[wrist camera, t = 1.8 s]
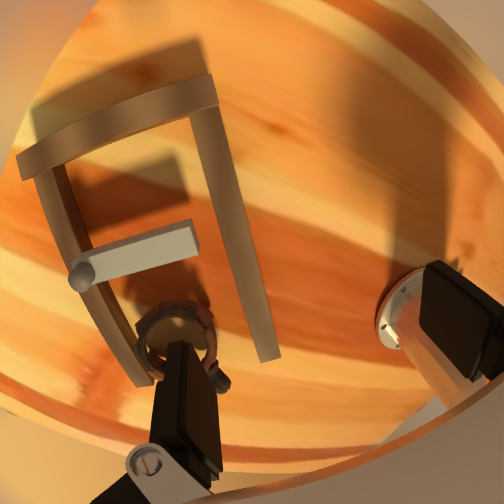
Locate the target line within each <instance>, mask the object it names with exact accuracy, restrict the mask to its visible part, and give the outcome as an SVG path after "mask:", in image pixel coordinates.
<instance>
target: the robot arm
mask: <svg viewBox="0 0 504 504" xmlns="http://www.w3.org/2000/svg"><path fill="white" fill-rule="evenodd" d="M375 327H376V333H377V336H378V338H379V339H380V341H381V342H382V343H383V344H384V345H385V346H386V347H388V348H391V349H402V350H403V351H404V353H405V354H406V355H407V356H408V358H409V359H410V360H411V362H412V363H413V364H414V365H415V367H416V368H417V369H418V371H419V372H420V373H421V375H422V376H423V377H424V379H425V380H426V381H427V383H428V384H429V385H430V387H431V388H432V389H433V391H434V392H435V394H436V395H437V396H438V397H439V399H440V400H441V402H442V403H443V405H444V406H445V407H446V409H447V410H448V411H447V412H445V413H444V414H442V415H440V416H439V417H437V418H435V419H434V420H432V421H430V422H428V423H426V424H425V425H423V426H421V427H419V428H417V429H415V430H413V431H411V432H410V433H408V434H406V435H404V436H402V437H400V438H398V439H395V440H393V441H391V442H389V443H387V444H385V445H382V446H380V447H378V448H376V449H373V450H371V451H369V452H366V453H364V454H361V455H359V456H356V457H354V458H351V459H348V460H346V461H343V462H340V463H337V464H334V465H332V466H329V467H325V468H322V469H319V470H316V471H313V472H309V473H306V474H302V475H299V476H295V477H291V478H288V479H284V480H280V481H276V482H271V483H267V484H262V485H258V486H253V487H248V488H242V489H238V490H233V491H227V492H222V493H217V494H214V493H212V492H211V491H210V490H209V489H210V488H211V481H215V480H219V472H223V463H222V452H221V441H220V429H219V416H218V401H217V394H216V390H215V388H214V386H213V384H212V382H211V380H210V379H209V377H208V375H207V373H206V371H205V369H204V367H203V365H202V363H201V361H200V359H199V357H198V355H197V353H196V351H195V349H194V347H193V345H192V343H190V342H189V343H186V341H185V340H180V341H176V342H171V343H169V345H168V350H167V357H166V364H165V371H164V379H163V380H162V381H158V382H157V385H156V390H155V397H154V405H153V412H152V421H151V429H150V438H149V443H145V444H141V445H139V446H137V447H135V448H134V449H133V450H132V451H131V452H130V453H129V455H128V456H127V459H126V463H125V465H126V470H127V473H126V474H125V475H124V476H122V477H121V478H120V479H119V480H118V481H116V482H115V483H114V484H113V485H111V486H110V487H109V488H108V489H107V490H105V491H104V492H103V493H101V494H100V495H99V496H98V497H96V498H95V499H94V500H93V501H92V502H91V503H90V504H504V307H503V306H502V305H501V304H500V303H498V302H497V301H496V300H495V299H493V298H492V297H491V296H489V295H488V294H487V293H485V292H484V291H483V290H482V289H480V288H479V287H477V286H476V285H475V284H473V283H472V282H471V281H469V280H468V279H467V278H465V277H464V276H462V275H461V274H460V273H458V272H457V271H455V270H454V269H452V268H451V267H450V266H448V265H447V264H445V263H444V262H442V261H441V260H436V261H433V262H431V263H428V264H427V265H426V267H423V268H419V269H417V270H414V271H412V272H411V273H409V274H407V275H406V276H404V277H403V278H402V279H401V280H399V281H398V282H397V283H396V285H395V286H394V287H393V288H392V289H391V290H390V291H389V293H388V294H387V295H386V297H385V299H384V300H383V302H382V304H381V306H380V309H379V311H378V314H377V318H376V326H375Z"/></svg>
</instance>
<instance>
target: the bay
mask: <svg viewBox="0 0 504 504" xmlns="http://www.w3.org/2000/svg"><path fill="white" fill-rule="evenodd" d="M218 105H219V101H218V97H217V94H216V90H215V86H214V82H213V78H212V74H208V75H204V76H200V77H196V78H192V79H188V80H185V81H181V82H178V83H175V84H171V85H168V86H165V87H162V88H159V89H156V90H153V91H150V92H147V93H144V94H141V95H138V96H136V97H133V98H130V99H128V100H125V101H123V102H120V103H118V104H115V105H113V106H110V107H108V108H106V109H103V110H101V111H99V112H96V113H94V114H92V115H90V116H88V117H85V118H83V119H81V120H79V121H77V122H75V123H73V124H71V125H69V126H67V127H65V128H63V129H61V130H59V131H57V132H56V133H54V134H52V135H50V136H48V137H46V138H45V139H43V140H41V141H39V142H38V143H36V144H34V145H33V146H31V147H29V148H28V149H26V150H24V151H23V152H21V153H19V154H18V155H16V160H17V164H18V168H19V171H20V175H21V179H22V181H24V180H27V179H30V178H33V179H34V182H35V185H36V189H37V192H38V195H39V198H40V201H41V204H42V207H43V210H44V213H45V215H46V218H47V221H48V224H49V226H50V229H51V232H52V234H53V237H54V239H55V242H56V244H57V246H58V249H59V251H60V254H61V256H62V258H63V260H64V263H65V265H66V267H67V269H68V271H69V274H70V272H71V271H72V270H73V267H72V265H71V263H72V262H73V260H74V259H75V258H76V257H77V256H78V255H79V254H80V253H83V252H86V251H89V250H91V249H93V247H92V244H91V242H90V239H89V237H88V234H87V232H86V229H85V226H84V224H83V221H82V218H81V215H80V213H79V210H78V207H77V204H76V201H75V198H74V195H73V192H72V189H71V186H70V183H69V180H68V176H67V173H66V170H65V166H64V164H66V163H68V162H70V161H72V160H74V159H76V158H78V157H80V156H83V155H85V154H87V153H89V152H92V151H94V150H96V149H99V148H101V147H103V146H106V145H108V144H111V143H113V142H116V141H118V140H121V139H123V138H126V137H129V136H131V135H134V134H137V133H140V132H142V131H145V130H148V129H151V128H154V127H157V126H160V125H163V124H166V123H169V122H172V121H176V120H179V119H182V118H186V117H190V121H191V125H192V129H193V133H194V137H195V140H196V144H197V148H198V152H199V155H200V159H201V163H202V167H203V170H204V174H205V178H206V181H207V185H208V188H209V192H210V196H211V199H212V203H213V206H214V210H215V213H216V217H217V221H218V224H219V228H220V231H221V235H222V238H223V241H224V245H225V248H226V252H227V255H228V259H229V262H230V265H231V269H232V272H233V276H234V279H235V282H236V286H237V289H238V292H239V296H240V299H241V302H242V305H243V309H244V312H245V315H246V318H247V322H248V325H249V328H250V331H251V335H252V338H253V341H254V344H255V347H256V351H257V354H258V357H259V360H260V363H263V362H267V361H271V360H274V359H278V358H281V354H280V350H279V346H278V342H277V338H276V334H275V330H274V326H273V322H272V318H271V314H270V310H269V305H268V301H267V297H266V293H265V289H264V285H263V281H262V277H261V273H260V269H259V265H258V261H257V257H256V253H255V249H254V245H253V241H252V237H251V233H250V229H249V225H248V221H247V217H246V213H245V209H244V205H243V201H242V197H241V193H240V189H239V185H238V181H237V178H236V174H235V170H234V166H233V162H232V158H231V154H230V150H229V146H228V142H227V138H226V134H225V130H224V126H223V122H222V118H221V114H220V110H219V106H218ZM79 294H80V296H81V298H82V300H83V302H84V304H85V306H86V307H87V309H88V311H89V313H90V315H91V317H92V318H93V320H94V322H95V324H96V326H97V327H98V329H99V331H100V332H101V334H102V336H103V337H104V339H105V341H106V342H107V344H108V346H109V347H110V349H111V351H112V352H113V354H114V355H115V357H116V358H117V360H118V361H119V363H120V364H121V366H122V367H123V369H124V370H125V372H126V373H127V375H128V376H129V378H130V379H131V381H132V382H133V383H134V385H135V386H136V388H138V387H145V386H152V385H154V380H155V378H154V377H152V376H151V375H150V374H149V373H148V372H147V368H146V367H145V365H144V364H143V363H142V362H141V361H140V360H139V359H138V358H137V357H136V355H135V352H134V348H135V343H136V341H138V340H137V338H136V336H135V334H134V332H133V331H132V329H131V327H130V325H129V323H128V321H127V319H126V318H125V316H124V314H123V312H122V310H121V308H120V306H119V304H118V302H117V300H116V298H115V296H114V294H113V292H112V290H111V287H110V285H109V283H108V281H103V282H100V283H96V284H93V285H90V287H89V288H88V290H87V291H85V292H82V293H80V292H79Z"/></svg>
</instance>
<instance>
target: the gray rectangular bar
mask: <svg viewBox="0 0 504 504" xmlns="http://www.w3.org/2000/svg"><path fill="white" fill-rule="evenodd" d="M199 246H200V244H199V241H198V238H197V235H196V232H195V229H194V225H193V222H192V219H188V220H184V221H181V222H177V223H174V224H170V225H167V226H164V227H160V228H157V229H154V230H150V231H147V232H144V233H141V234H138V235H134V236H131V237H128V238H125V239H122V240H119V241H116V242H113V243H109V244H106V245H103V246H100V247H97V248H94V249H91V250H89V251H86V252H83V253H80V254H79V255H78V256H77V257H76V258H75V259H74V260H73V262H72V263H71V265H72V267H73V270H72V271H71V272H70V274H69V276H68V282H69V284H70V286H71V287H72V289H74V290H75V291H77V292H80V293H82V292H85V291H87V290H88V288H89V287H90V285H93V284H96V283H100V282H103V281H107V280H110V279H114V278H117V277H121V276H125V275H128V274H132V273H135V272H139V271H142V270H146V269H150V268H153V267H157V266H160V265H164V264H167V263H171V262H175V261H178V260H182V259H186V258H189V257H193V256H197V255H199Z"/></svg>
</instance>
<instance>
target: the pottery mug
mask: <svg viewBox="0 0 504 504" xmlns="http://www.w3.org/2000/svg"><path fill="white" fill-rule="evenodd" d="M171 317H180V318H184V319H187V320H190V321H192V322H193V323H197V321H198V322H199V323H200V324H201V325H202V327H203V328H204V331H203V334H204V336H205V339H206V343H207V351H206V355H205V357H204V358H203V359H202V361H201V363H202V365H203V367H204V369H205V371H206V373H207V375H208V377H209V379H210V380H211V382H212V384H213V386H214V388H215V390H216V393H218V394H224V393H226V392H227V391H228V389H230V386H231V381H230V379H229V378H228V376H226V374H224V372H223V371H222V370H221V369H220V368H219V367H218V363H219V362H218V360H217V359H216V355H217V338H216V332H215V329H214V327H213V324H212V323H211V322H210V321H211V319H212V318H213V317H214V316H213V314H212V312H211V311H210V310H209V309H208V308H207V307H206V306H204V305H202V304H199V305H198V304H197V303H196V302H193V301H169V302H164V303H161V304H160V305H159V307H153V308H152V309H151V310H149V311H148V312H147V313H146V314H145V316H144V317H143V318H142V319H140V320H139V321H138V322H137V323H136V324H135V326H136V331H137V333H138V335H139V338H138V341H136V343H135V348H134V352H135V355H136V357H137V358H138V359H139V360H140V361H141V362H142V363H143V364H144V365H145V367H146V368H147V372H148V373H149V374H150V375H151V376H152V377H154V378H155V379H157V380H159V381H162V380H163V379H164V371H165V364H166V361H165V360H163V359H162V358H160V357H159V356H158V355H157V354H156V353H155V352H154V351H153V350H150V351H149V353H147V348H146V339H147V335H148V333H149V331H150V329H151V328H152V327H153V326H154V325H155V324H156V323H157V322H159V321H161V320H163V319H166V318H171Z"/></svg>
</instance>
